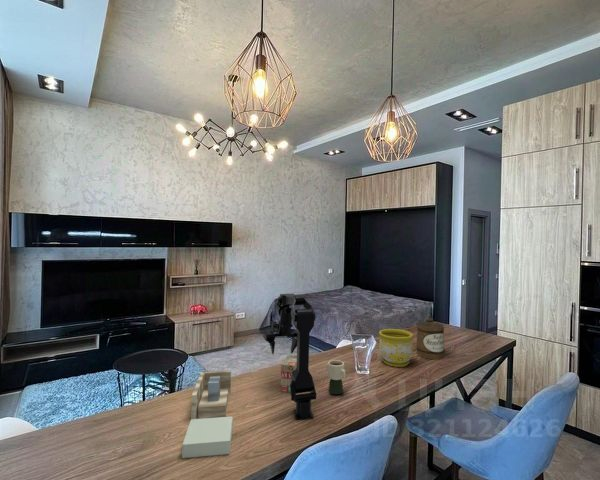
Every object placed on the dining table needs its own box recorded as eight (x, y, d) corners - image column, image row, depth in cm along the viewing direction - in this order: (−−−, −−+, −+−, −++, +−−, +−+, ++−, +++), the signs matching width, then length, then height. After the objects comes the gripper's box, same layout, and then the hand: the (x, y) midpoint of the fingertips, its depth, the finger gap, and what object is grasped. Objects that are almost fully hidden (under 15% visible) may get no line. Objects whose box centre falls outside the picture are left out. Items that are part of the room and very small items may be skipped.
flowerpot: (420, 366, 169) (420, 335, 169) (392, 371, 162) (392, 339, 163) (398, 355, 186) (398, 327, 186) (372, 359, 179) (372, 330, 179)
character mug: (350, 395, 136) (350, 364, 136) (339, 399, 132) (339, 368, 132) (333, 386, 145) (333, 357, 145) (321, 390, 140) (321, 360, 140)
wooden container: (428, 360, 178) (427, 321, 178) (411, 352, 192) (411, 315, 192) (449, 358, 182) (449, 319, 182) (432, 350, 196) (432, 314, 197)
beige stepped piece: (226, 417, 117) (227, 393, 118) (191, 420, 115) (191, 395, 116) (230, 390, 139) (230, 370, 139) (200, 392, 137) (201, 371, 137)
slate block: (218, 400, 122) (218, 382, 122) (207, 401, 121) (208, 383, 121) (220, 393, 128) (220, 376, 128) (209, 394, 127) (210, 376, 127)
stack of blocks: (291, 373, 160) (292, 348, 160) (304, 374, 158) (304, 349, 159) (280, 392, 139) (280, 363, 139) (294, 393, 137) (294, 364, 138)
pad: (229, 453, 97) (230, 440, 97) (182, 458, 95) (182, 444, 95) (232, 427, 111) (232, 416, 111) (190, 431, 109) (191, 419, 109)
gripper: (298, 315, 157) (294, 345, 157) (261, 315, 149) (258, 347, 150) (307, 322, 146) (303, 355, 147) (268, 323, 139) (264, 357, 140)
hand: (282, 353), depth 146 cm, fingers open, 9 cm apart
